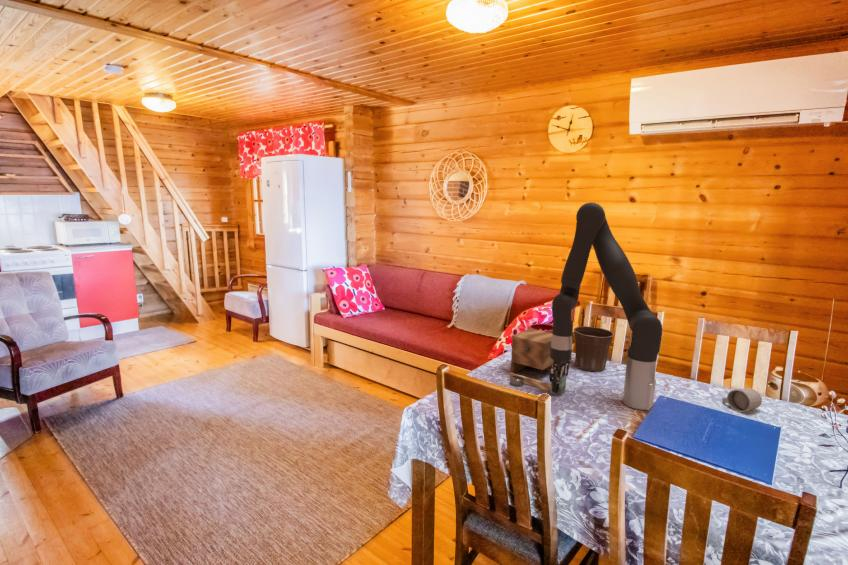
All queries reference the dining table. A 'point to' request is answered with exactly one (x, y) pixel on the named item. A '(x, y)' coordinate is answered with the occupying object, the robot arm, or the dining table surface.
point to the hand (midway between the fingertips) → (557, 390)
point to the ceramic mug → (743, 399)
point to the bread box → (531, 350)
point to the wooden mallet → (544, 384)
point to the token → (516, 381)
